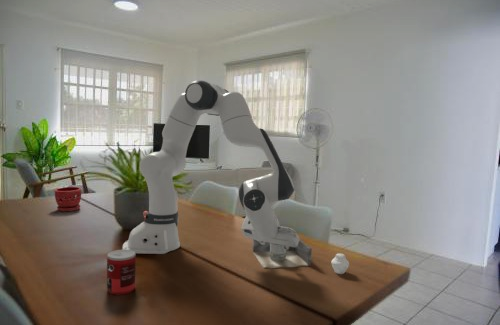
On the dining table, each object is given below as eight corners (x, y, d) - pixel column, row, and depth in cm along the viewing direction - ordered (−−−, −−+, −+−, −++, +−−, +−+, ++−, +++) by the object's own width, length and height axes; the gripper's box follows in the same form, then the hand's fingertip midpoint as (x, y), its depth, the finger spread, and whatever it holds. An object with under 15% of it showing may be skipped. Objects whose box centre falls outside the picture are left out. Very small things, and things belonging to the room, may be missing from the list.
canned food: (111, 283, 107) (111, 248, 106) (137, 283, 108) (138, 249, 107) (103, 295, 100) (103, 258, 99) (131, 295, 100) (132, 258, 99)
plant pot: (65, 206, 202) (65, 185, 201) (86, 208, 200) (86, 187, 199) (49, 211, 189) (48, 189, 188) (71, 213, 187) (71, 191, 186)
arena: (263, 268, 124) (264, 250, 123) (252, 252, 139) (253, 236, 139) (310, 265, 128) (311, 248, 128) (294, 250, 144) (295, 235, 143)
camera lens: (285, 262, 129) (286, 242, 128) (268, 260, 130) (269, 240, 129) (286, 256, 135) (287, 236, 134) (270, 254, 136) (271, 235, 135)
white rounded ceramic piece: (329, 268, 127) (330, 249, 126) (346, 269, 127) (347, 250, 126) (332, 275, 121) (333, 256, 120) (350, 276, 121) (351, 256, 120)
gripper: (297, 222, 117) (304, 242, 126) (243, 213, 125) (253, 233, 135) (292, 238, 113) (299, 258, 123) (236, 228, 122) (247, 247, 132)
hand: (275, 245), depth 129 cm, fingers open, 8 cm apart
